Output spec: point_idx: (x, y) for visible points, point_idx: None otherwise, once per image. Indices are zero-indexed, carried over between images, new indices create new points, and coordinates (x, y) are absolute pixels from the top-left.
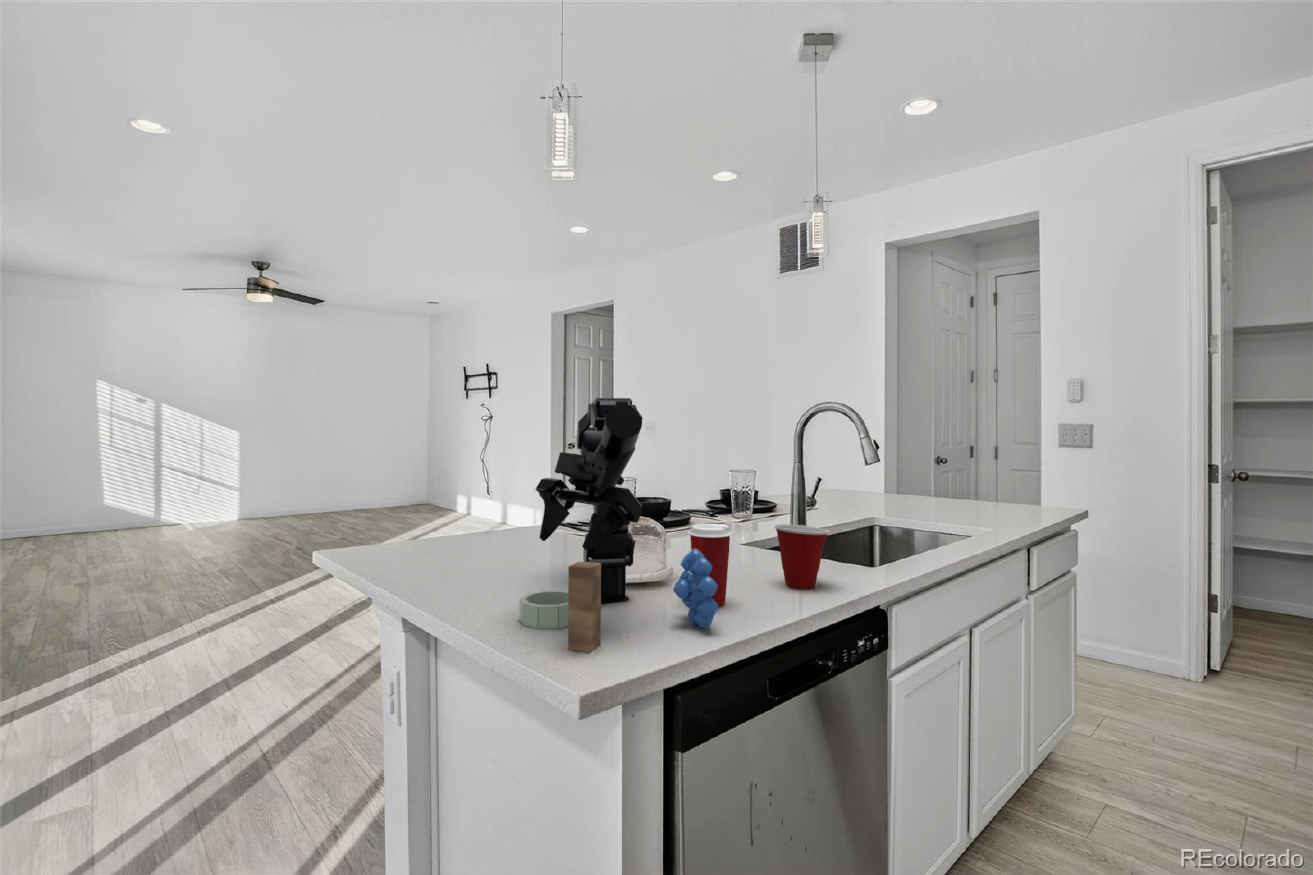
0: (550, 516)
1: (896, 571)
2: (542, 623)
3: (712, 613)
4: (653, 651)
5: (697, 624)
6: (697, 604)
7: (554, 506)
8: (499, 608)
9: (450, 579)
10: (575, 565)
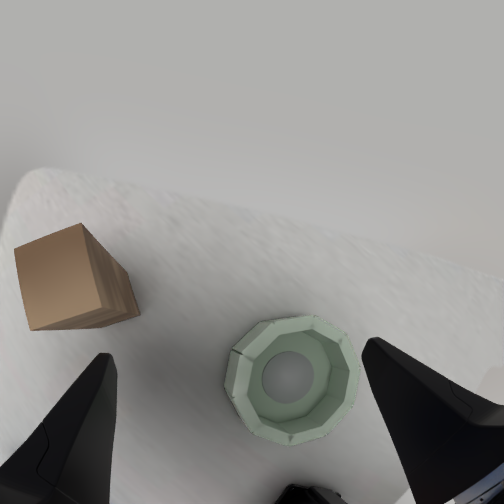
0: (433, 407)
1: None
2: (256, 327)
3: None
4: (22, 352)
5: None
6: None
7: (469, 445)
8: None
9: (499, 362)
10: (70, 247)
